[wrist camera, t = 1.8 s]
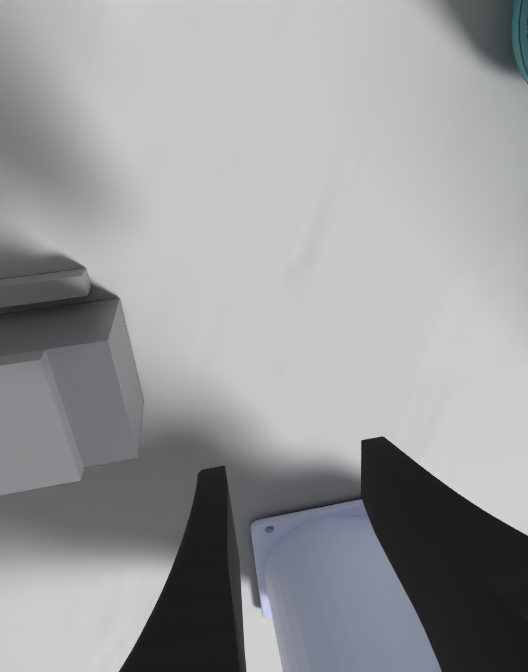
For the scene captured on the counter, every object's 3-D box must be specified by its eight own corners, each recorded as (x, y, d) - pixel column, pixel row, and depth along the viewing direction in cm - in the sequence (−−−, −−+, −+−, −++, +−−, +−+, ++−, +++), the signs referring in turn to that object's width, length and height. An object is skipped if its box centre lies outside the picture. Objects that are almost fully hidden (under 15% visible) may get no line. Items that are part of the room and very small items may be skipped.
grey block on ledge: (119, 297, 19) (105, 349, 15) (143, 400, 21) (137, 470, 17) (-9, 315, 19) (-62, 375, 14) (29, 419, 21) (-7, 496, 17)
